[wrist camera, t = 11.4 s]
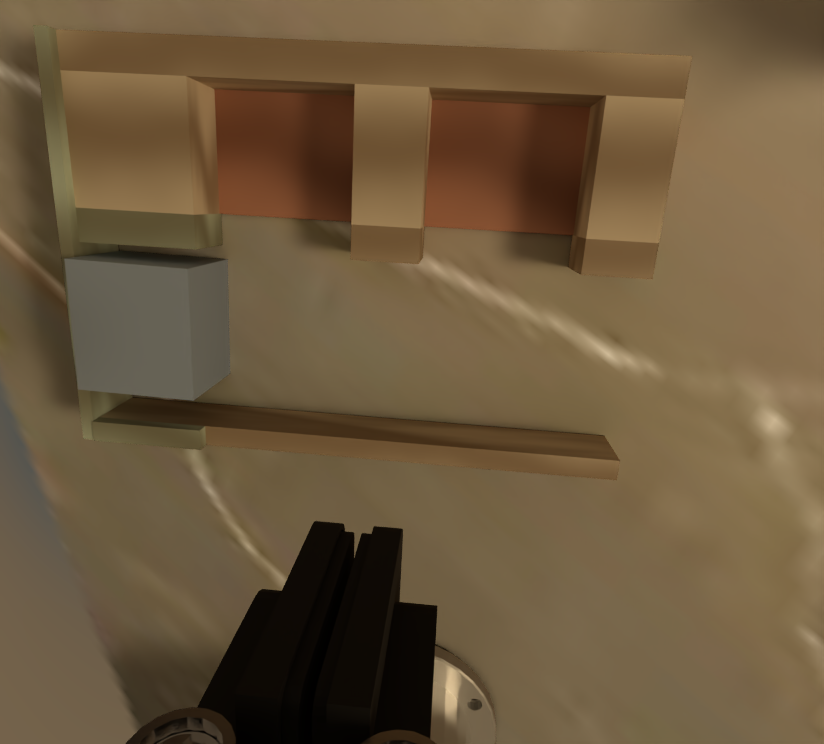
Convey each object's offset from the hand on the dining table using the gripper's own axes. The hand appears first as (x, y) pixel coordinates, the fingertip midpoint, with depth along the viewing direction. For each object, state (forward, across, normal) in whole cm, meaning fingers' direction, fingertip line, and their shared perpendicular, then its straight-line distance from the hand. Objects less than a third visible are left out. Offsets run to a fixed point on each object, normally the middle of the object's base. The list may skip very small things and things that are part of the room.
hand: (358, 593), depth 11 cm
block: (+19, +13, -1) cm, 23 cm away
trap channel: (+19, +3, -4) cm, 20 cm away
